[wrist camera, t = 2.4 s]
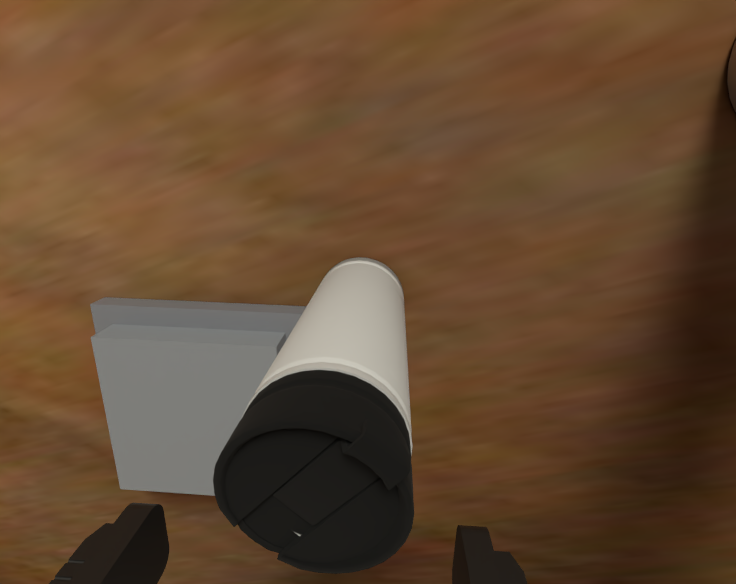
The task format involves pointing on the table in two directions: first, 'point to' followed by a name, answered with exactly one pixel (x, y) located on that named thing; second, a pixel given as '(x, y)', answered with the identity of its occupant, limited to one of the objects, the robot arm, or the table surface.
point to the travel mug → (329, 432)
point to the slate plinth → (180, 382)
